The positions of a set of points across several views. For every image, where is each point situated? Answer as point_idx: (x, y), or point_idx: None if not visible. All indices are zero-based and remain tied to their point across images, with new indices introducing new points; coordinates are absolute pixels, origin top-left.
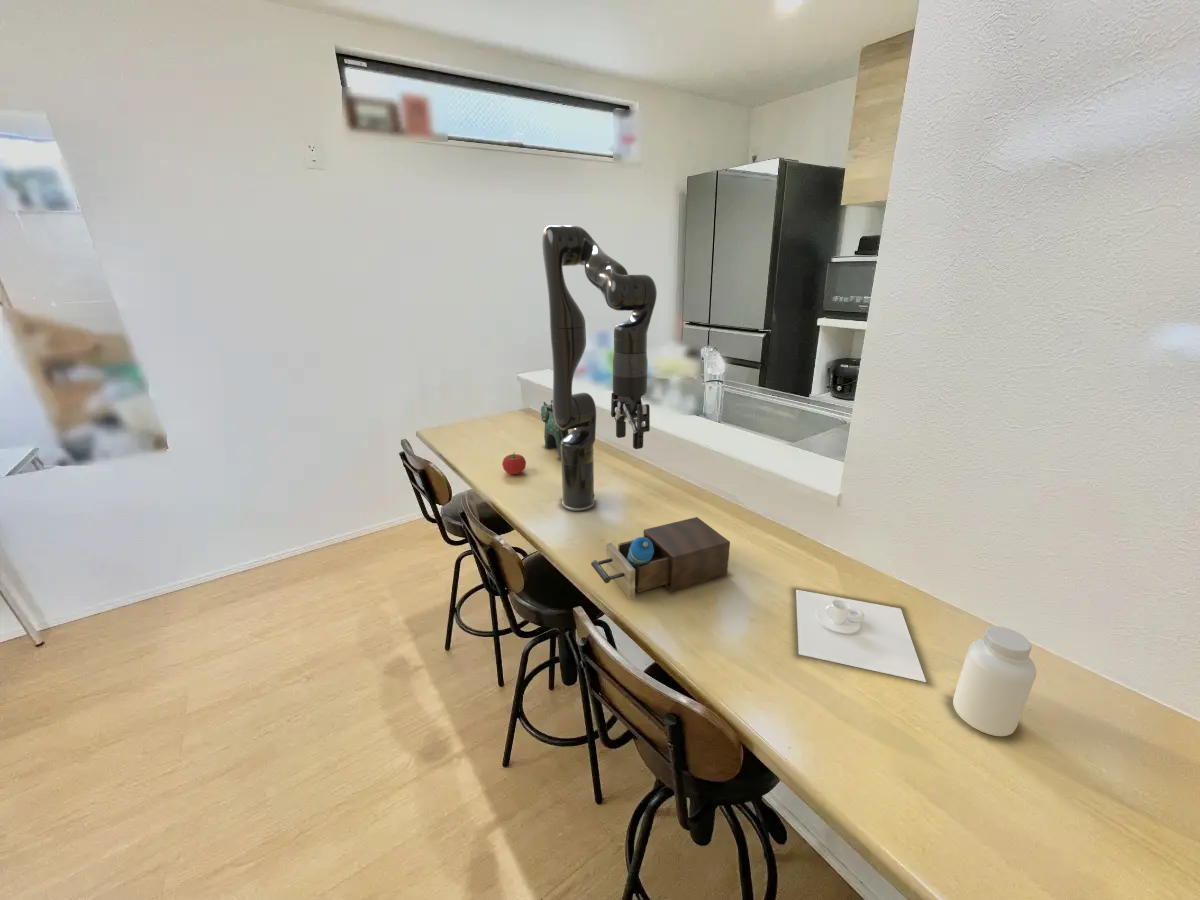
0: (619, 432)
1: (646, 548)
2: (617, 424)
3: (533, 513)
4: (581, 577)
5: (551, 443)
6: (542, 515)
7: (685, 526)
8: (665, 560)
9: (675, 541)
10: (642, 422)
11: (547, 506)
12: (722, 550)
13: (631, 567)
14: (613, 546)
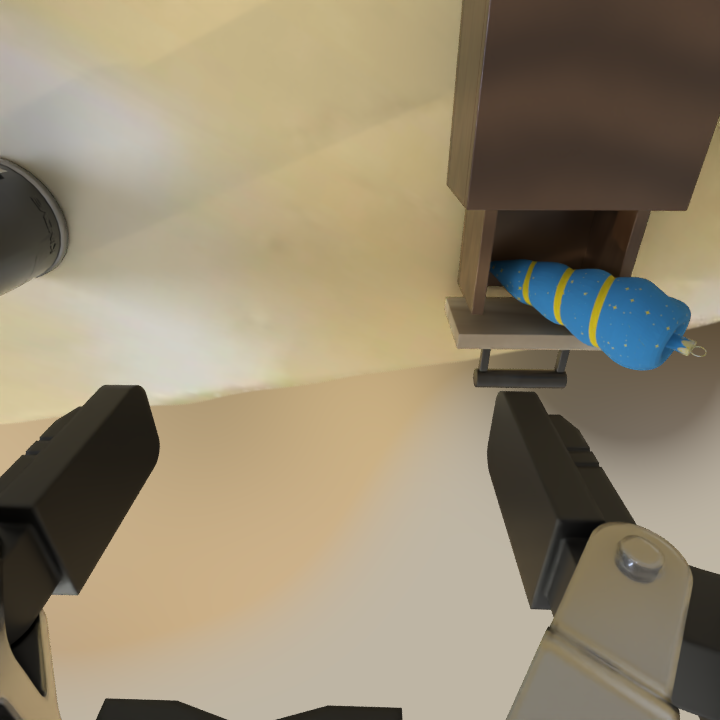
0: (131, 474)
1: (674, 331)
2: (86, 575)
3: (64, 366)
4: (426, 363)
5: None
6: (80, 348)
7: (549, 5)
8: (646, 222)
9: (615, 137)
10: (664, 692)
11: (18, 318)
12: None
13: None
14: (483, 337)
